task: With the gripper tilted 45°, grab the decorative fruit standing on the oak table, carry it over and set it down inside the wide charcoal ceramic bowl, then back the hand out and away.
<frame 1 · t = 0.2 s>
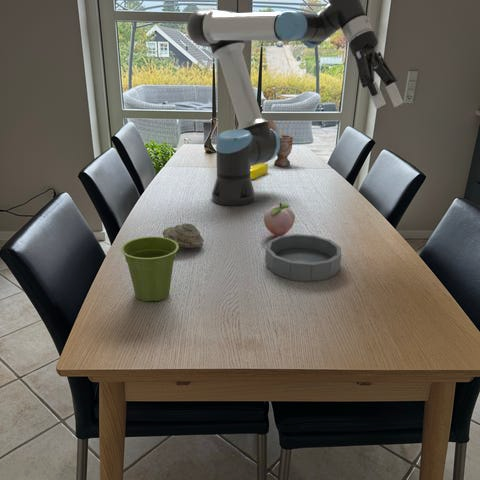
hand: (390, 105, 132), 35 cm above the table, tool tilted 35°, fingers open, 13 cm apart
fossilized seashell: (182, 250, 124), on the table
mortar and pestle: (278, 165, 213), on the table
decorative fruit: (277, 236, 133), on the table
plant pot: (153, 295, 102), on the table
element tile: (245, 175, 198), on the table
bowl: (302, 264, 116), on the table
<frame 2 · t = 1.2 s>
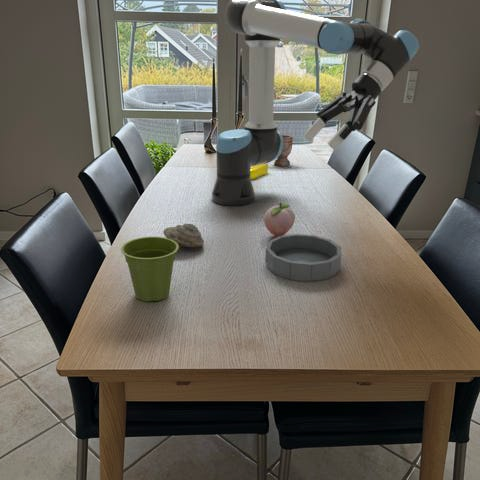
hand: (318, 142, 127), 26 cm above the table, tool tilted 45°, fingers open, 13 cm apart
nothing on the table moved.
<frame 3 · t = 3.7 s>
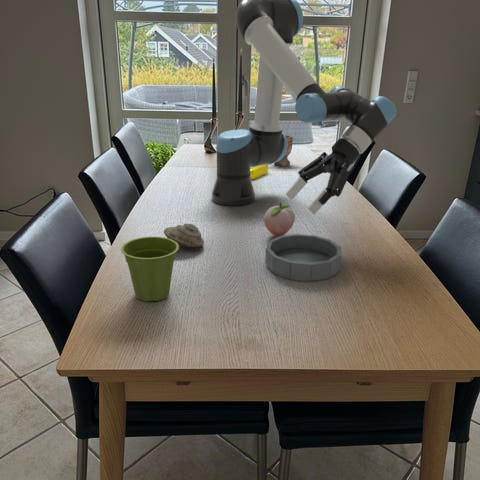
hand: (299, 203, 130), 10 cm above the table, tool tilted 45°, fingers open, 13 cm apart
nothing on the table moved.
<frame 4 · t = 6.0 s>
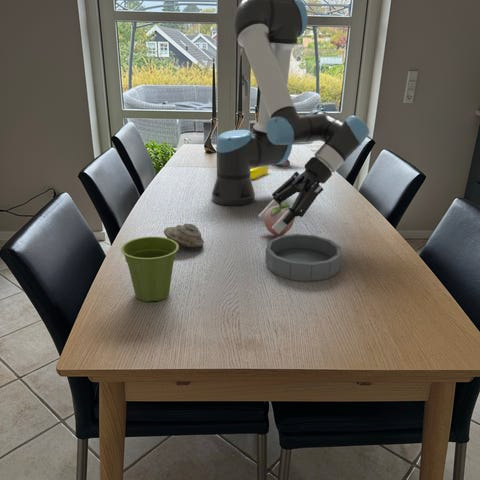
hand: (268, 224, 131), 4 cm above the table, tool tilted 45°, fingers closed on decorative fruit, 9 cm apart
decorative fruit: (277, 236, 133), on the table, touching gripper
everything else where it was.
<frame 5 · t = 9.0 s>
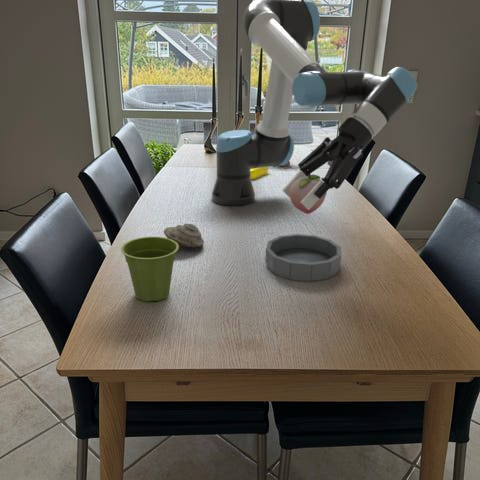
hand: (294, 199, 109), 17 cm above the table, tool tilted 45°, fingers closed on decorative fruit, 9 cm apart
decorative fruit: (305, 214, 111), point 13 cm above the table, touching gripper
everything else where it was.
when the fingers open (7 cm above the table, at t = 11.9 s): decorative fruit drops 2 cm, resting on bowl.
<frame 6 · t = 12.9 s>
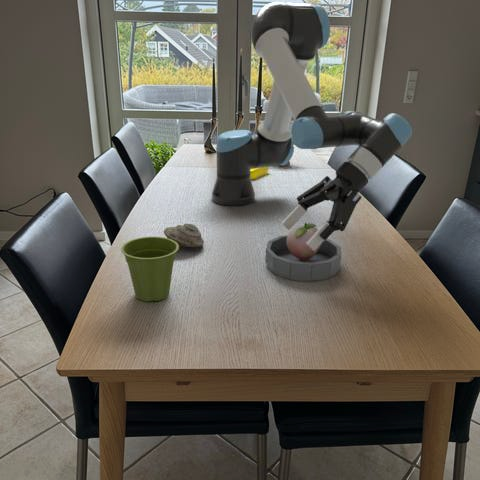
hand: (296, 236, 112), 8 cm above the table, tool tilted 45°, fingers open, 13 cm apart
decorative fruit: (302, 261, 116), point 1 cm above the table, touching bowl
everything else where it was.
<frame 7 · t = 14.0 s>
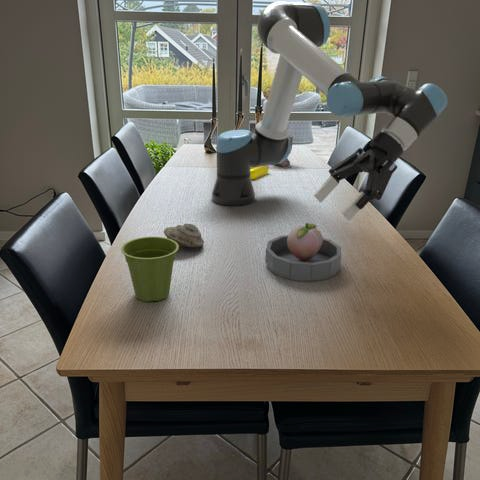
hand: (330, 207, 112), 14 cm above the table, tool tilted 45°, fingers open, 13 cm apart
nothing on the table moved.
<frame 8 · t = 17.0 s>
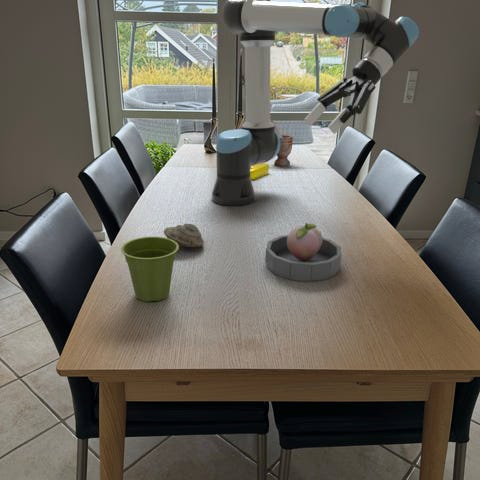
hand: (318, 126, 129), 30 cm above the table, tool tilted 45°, fingers open, 13 cm apart
nothing on the table moved.
at the end: decorative fruit inside the target area on the bowl (0.3 cm from its centre), point 0.8 cm above the bowl's base; the gripper is holding nothing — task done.
